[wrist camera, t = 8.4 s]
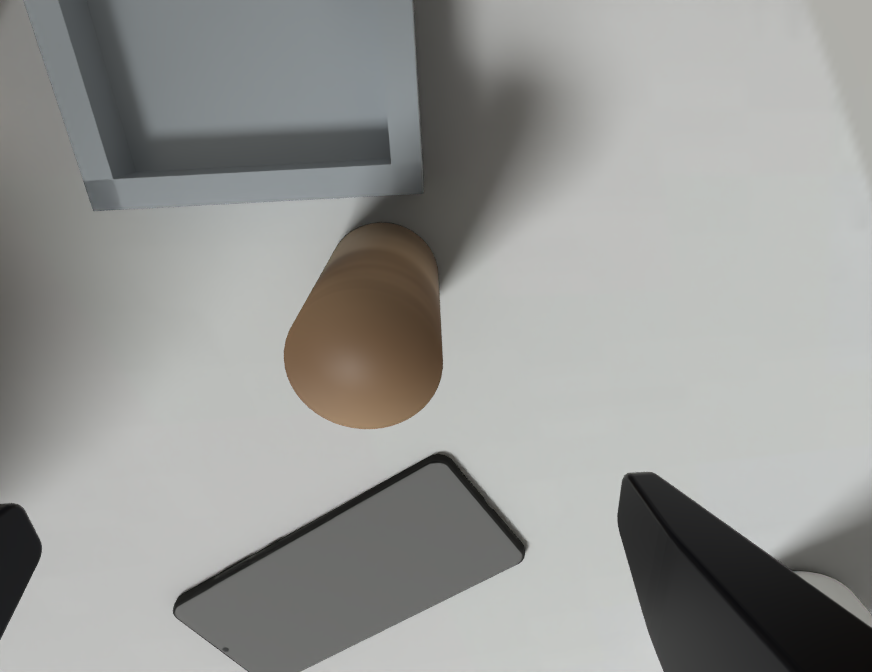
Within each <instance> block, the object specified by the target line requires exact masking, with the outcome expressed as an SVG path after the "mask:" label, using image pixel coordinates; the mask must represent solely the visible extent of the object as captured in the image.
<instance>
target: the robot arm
mask: <svg viewBox="0 0 872 672" xmlns="http://www.w3.org/2000/svg"><path fill="white" fill-rule="evenodd" d="M617 517H618V527H619V532H620V536H621V539H622V543H623V546H624V550H625V553H626V557H627V560H628V564H629V567H630V571H631V574H632V578H633V581H634V585H635V588H636V592H637V595H638V599H639V602H640V606H641V609H642V613H643V616H644V619H645V623H646V626H647V629H648V632H649V635H650V638H651V640H652V643H653V646H654V648H655V651H656V654H657V656H658V659H659V661H660V664H661V666H662V669H663V671H664V672H872V627H870V626H869V625H867V624H866V623H865V622H863V621H862V620H860V619H859V618H858V617H856V616H855V615H853V614H852V613H851V612H849V611H848V610H846V609H845V608H844V607H842V606H841V605H839V604H838V603H837V602H835V601H834V600H832V599H831V598H830V597H828V596H827V595H825V594H824V593H823V592H821V591H820V590H818V589H817V588H815V587H814V586H813V585H811V584H810V583H808V582H807V581H806V580H804V579H803V578H801V577H800V576H799V575H797V574H796V573H794V572H793V571H792V570H790V569H789V568H787V567H786V566H785V565H783V564H782V563H780V562H779V561H778V560H776V559H775V558H773V557H772V556H771V555H769V554H768V553H766V552H765V551H764V550H762V549H761V548H759V547H758V546H757V545H755V544H754V543H752V542H751V541H749V540H748V539H747V538H745V537H744V536H742V535H741V534H740V533H738V532H737V531H735V530H734V529H733V528H731V527H730V526H728V525H727V524H726V523H724V522H723V521H721V520H720V519H719V518H717V517H716V516H714V515H713V514H712V513H710V512H709V511H707V510H706V509H705V508H703V507H702V506H700V505H699V504H698V503H696V502H695V501H693V500H692V499H691V498H689V497H688V496H686V495H685V494H683V493H682V492H681V491H679V490H678V489H676V488H675V487H674V486H672V485H671V484H669V483H668V482H667V481H665V480H664V479H662V478H661V477H660V476H658V475H657V474H655V473H652V472H636V473H627V474H626V475H624V477H623V480H622V485H621V492H620V500H619V507H618V516H617ZM41 553H42V545H41V541H40V539H39V537H38V535H37V533H36V531H35V529H34V527H33V525H32V523H31V521H30V519H29V517H28V515H27V513H26V512H25V510H24V508H23V507H21V506H20V505H18V504H14V503H7V504H0V639H1V637H2V635H3V633H4V631H5V629H6V627H7V625H8V623H9V621H10V619H11V617H12V615H13V613H14V611H15V609H16V607H17V605H18V603H19V601H20V599H21V597H22V595H23V593H24V590H25V588H26V586H27V584H28V582H29V580H30V578H31V576H32V574H33V572H34V570H35V568H36V566H37V564H38V562H39V560H40V557H41Z"/></svg>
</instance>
